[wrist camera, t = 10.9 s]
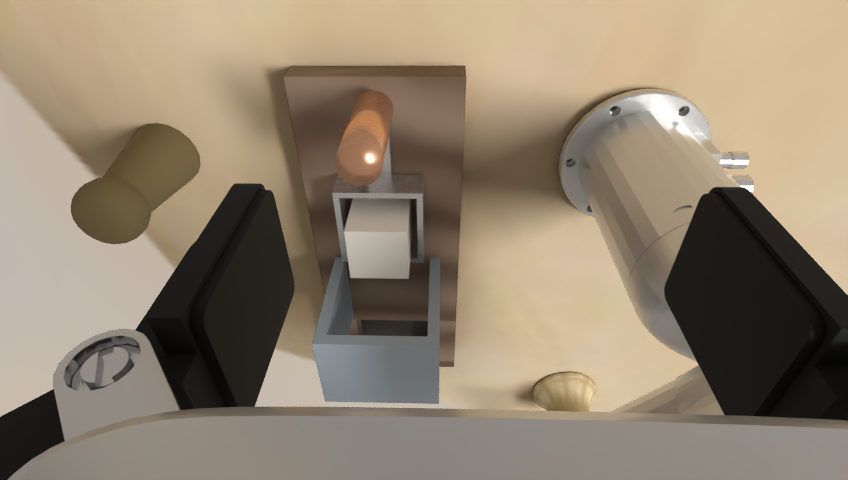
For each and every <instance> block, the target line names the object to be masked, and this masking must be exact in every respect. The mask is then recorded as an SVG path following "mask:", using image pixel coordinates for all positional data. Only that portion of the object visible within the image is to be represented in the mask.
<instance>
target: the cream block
mask: <svg viewBox="0 0 848 480" xmlns="http://www.w3.org/2000/svg"><path fill="white" fill-rule="evenodd" d="M344 235H345V242H346V250H347V257H348V264H349V271H350V278H388V279H409V268H410V256H411V244H412V217H411V199H389V198H353V200H352V204H351V207H350V211H349V215H348V218H347V222H346V226H345V230H344Z"/></svg>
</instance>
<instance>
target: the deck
mask: <svg viewBox="0 0 848 480" xmlns="http://www.w3.org/2000/svg"><path fill="white" fill-rule="evenodd" d="M283 79H284V84H285V89H286V95H287V100H288V105H289V110H290V115H291V121H292V126H293V131H294V136H295V142H296V147H297V152H298V157H299V163H300V168H301V173H302V178H303V183H304V189H305V194H306V199H307V204H308V210H309V215H310V220H311V225H312V231H313V236H314V241H315V246H316V252H317V257H318V262H319V267H320V272H321V278H322V283H323V288H324V293H325V294H326V290H327V287H328V283H329V279H330V276H331V272H332V268H333V265H334V261H335V257H342V255H341V249H340V242H339V236H338V229H337V222H336V216H335V209H334V202H333V196H332V192H333V189H334V186H335V183H336V180H337V177H338V173H337V171H336V169H335V157H336V154H337V151H338V149H339V146H340V143H341V140H342V138H343V135H344V132H345V129H346V127H347V124H348V121H349V119H350V116H351V113H352V110H353V108H354V105H355V102H356V100H357V98H358V97H359V96H360V95H361V94H362V93H364V92H366V91H370V90H375V91H379V92H382V93H384V94H385V95H387V96H388V97H389V99H390V100H391V102H392V104H393V108H394V113H393V118H392V124H391V129H390V140H391V158H392V175H424V231H425V245H424V263H410V268H409V279H388V278H350V271H349V264H348V262H346V264H347V271H348V278H349V285H350V292H351V299H352V306H353V313H354V314H353V319H352V324H351V329H350V334H349V335H367V336H427V335H428V305H429V274H430V258H440V348H439V366H440V367H454V349H455V326H456V303H457V279H458V256H459V233H460V210H461V187H462V163H463V140H464V117H465V94H466V70H465V66H291V67H290V68H289V70H288V71H287V72H286V74H285V75H284V76H283ZM352 200H353V198H347V201H348V208H349V211H350V207H351V204H352ZM411 217H412V238H418V236H417V199H411Z"/></svg>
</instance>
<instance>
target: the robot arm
mask: <svg viewBox="0 0 848 480" xmlns="http://www.w3.org/2000/svg"><path fill="white" fill-rule="evenodd" d="M613 106H615V107H614V108H613V109H611V108H612V107H613ZM681 107H682V108H681ZM680 108H681V109H680ZM711 140H712V135H711V131H710V127H709V123H708V122H707V120H706V118H705V116H704V115H703V113H702V112H701V111H700V110H699V109H698V108H697V107H696V106H695V105H694V104H693V103H692V102H691V101H689V100H688V99H687V98H685V97H684V96H681V95H679V94H677V93H675V92H672V91H667V90H662V89H639V90H633V91H628V92H625V93H622V94H619V95H616V96H614V97H611V98H610V99H608V100H606V101H604V102H602V103H600V104H598V105H597V106H596V107H594V108H593V109H592V110H590V111H589V112H588V113H586V114H585V115H584V116H583V117H582V119H581V120H580V121H579V122H578V123H577V124H576V125H575V126H574V128H573V129H572V131H571V132H570V133H569V135H568V136H567V138H566V141H565V143H564V145H563V147H562V150H561V154H560V159H559V176H560V181H561V184H562V187H563V189H564V192H565V194H566V195H567V197H568V199H569V200H570V202H571V203H572V204H573V205H574V206H575V207H577V208H578V209H579V210H580V211H582V212H583V213H585V214H587V215H589V216H592V217H595V219H596V221H597V223H598V226H599V228H600V230H601V233H602V235H603V237H604V240H605V242H606V244H607V247H608V249H609V251H610V254H611V256H612V258H613V260H614V263H615V265H616V267H617V270H618V272H619V274H620V277H621V279H622V281H623V284H624V286H625V288H626V291H627V293H628V295H629V298H630V300H631V302H632V304H633V307H634V309H635V311H636V313H637V315H638V317H639V319H640V320H641V322H642V324H643V325H644V326H645V327H646V329H647V330H648V331H649V332H650V333H651V334H652V335H653V336H654V337H655V338H656V339H657V340H659V341H660V342H661V343H662V344H664V345H665V346H667V347H668V348H670V349H672V350H673V351H675V352H677V353H679V354H681V355H683V356H685V357H687V358H689V359H692V360H694V361H696V362H697V363H698V364H699V366H697V367H695V368H693V369H691V370H690V371H688V372H686V373H684V374H682V375H680V376H678V377H677V378H676V379H675V380H674V381H672V382H670V383H668V384H666V385H664V386H662V387H660V388H658V389H656V390H654V391H652V392H650V393H648V394H646V395H644V396H642V397H640V398H637V399H635V400H633V401H631V402H629V403H627V404H625V405H623V406H621V407H619V408H617V409H615V410H613V411H612V412H574V411H529V410H480V409H424V408H363V407H361V408H360V407H255V403H256V401H257V398H258V395H259V392H260V389H261V386H262V384H263V381H264V378H265V375H266V372H267V369H268V366H269V363H270V360H271V358H272V355H273V352H274V349H275V346H276V343H277V340H278V337H279V335H280V332H281V329H282V326H283V323H284V320H285V317H286V314H287V312H288V309H289V306H290V303H291V300H292V297H293V294H294V278H293V274H292V270H291V265H290V261H289V257H288V253H287V249H286V244H285V240H284V236H283V232H282V228H281V224H280V219H279V215H278V211H277V207H276V203H275V199H274V195H273V193H272V191H270V190H265V188H264V186H263V185H262V184H234V185H233V186H232V187H231V189H230V190H229V192H228V193H227V195H226V196H225V198H224V200H223V201H222V203H221V204H220V206H219V207H218V209H217V210H216V212H215V213H214V215H213V216H212V218H211V219H210V221H209V222H208V224H207V225H206V227H205V229H204V230H203V232H202V233H201V235H200V236H199V238H198V239H197V241H196V242H195V243H194V244H193V245H192V246H191V247H190V248H189V250H188V251H187V253H186V254H185V256H184V257H183V259H182V260H181V262H180V263H179V265H178V266H177V268H176V270H175V271H174V273H173V274H172V276H171V277H170V279H169V280H168V282H167V283H166V285H165V286H164V288H163V289H162V291H161V292H160V294H159V295H158V297H157V298H156V300H155V302H154V303H153V304H152V306H151V307H150V309H149V311H148V312H147V314H146V315H145V316H144V318H143V320H142V321H141V323H140V324H139V326H138V327H137V329H136V330H128V329H119V330H113V331H108V332H105V333H102V334H99V335H96V336H94V337H92V338H90V339H88V340H86V341H84V342H82V343H81V344H80V345H78V346H77V347H75V348H74V349H73V350H72V351H70V352H69V353H68V354H67V355H66V356H65V357H64V359H63V360H62V361H61V362H60V363H59V365H58V367H57V369H56V371H55V373H54V375H53V388H54V389H53V390H51V391H49V392H47V393H46V394H43V395H42V396H40V397H38V398H36V399H34V400H32V401H30V402H28V403H26V404H24V405H23V406H21V407H18V408H17V409H15V410H13V411H11V412H9V413H7V414H5V415H3V416H1V417H0V480H848V295H847V294H846V293H845V292H844V291H843V290H842V289H841V288H840V287H839V286H838V285H837V284H836V283H835V282H834V281H833V279H832V278H831V277H830V276H829V275H828V274H827V273H826V272H825V271H824V270H823V269H822V268H821V267H820V266H819V265H818V263H817V262H816V261H815V260H814V259H813V258H812V257H811V256H810V255H809V254H808V253H807V252H806V251H805V250H804V249H803V247H802V246H801V245H800V244H799V243H798V242H797V241H796V240H795V239H794V238H793V237H792V236H791V235H790V234H789V233H788V232H787V230H786V229H785V228H784V227H783V226H782V225H781V224H780V223H779V222H778V221H777V220H776V219H775V218H774V217H773V216H772V214H771V213H770V212H769V211H768V210H767V209H766V208H765V207H764V206H763V205H762V204H761V203H760V202H759V201H758V200H757V198H756V197H755V196H754V195H753V194H752V192H753V188H754V183H753V179H752V178H751V177H750V176H748V175H730V174H729V173H728V172H727V171H726V170H725V169H724V168H727V169H744V168H746V167H747V165H748V163H749V155H748V153H746V152H728V153H721V152H720V151H719V150H718V149H717V148H716V147H715V146H714V145H713V144H712V143H711ZM568 159H570V160H568Z"/></svg>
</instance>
